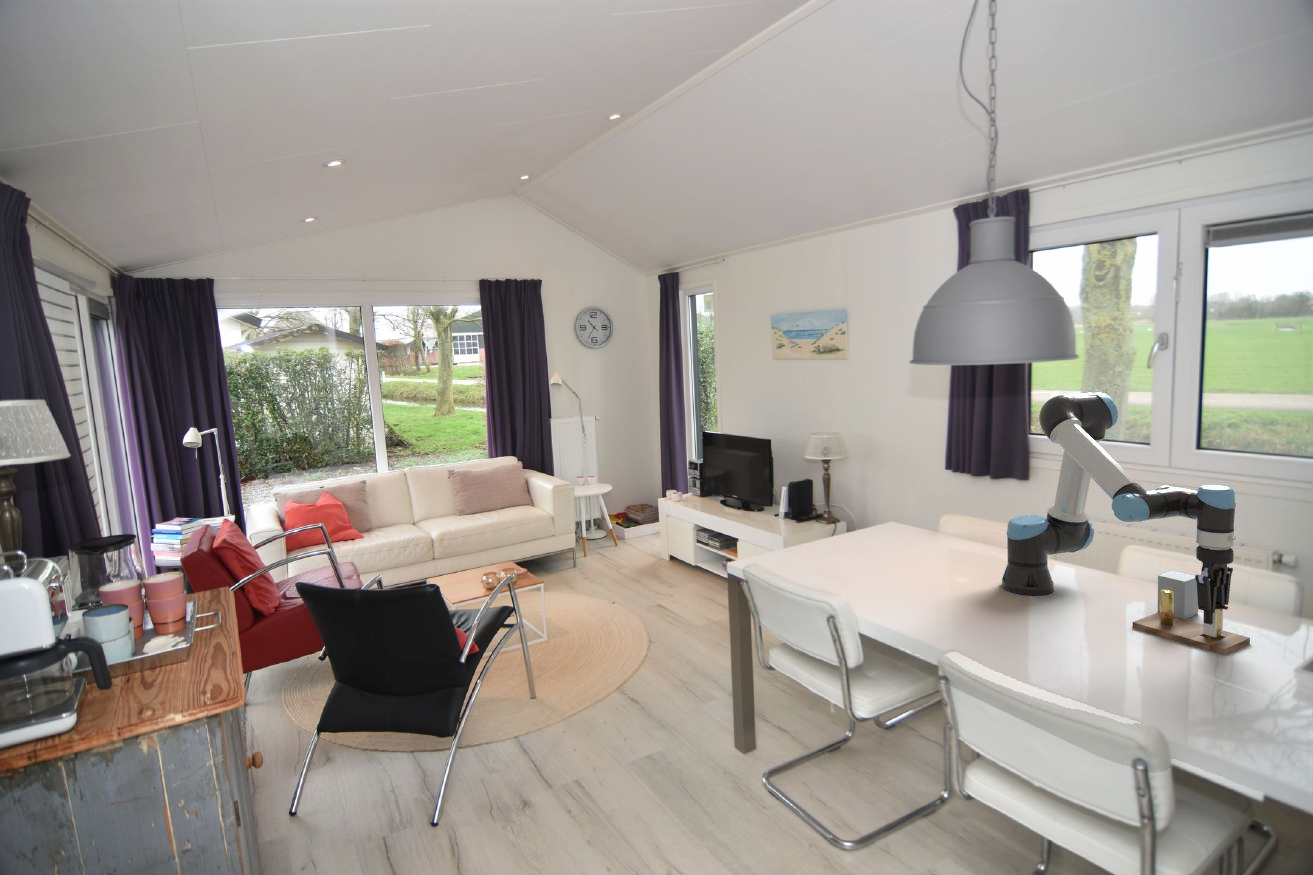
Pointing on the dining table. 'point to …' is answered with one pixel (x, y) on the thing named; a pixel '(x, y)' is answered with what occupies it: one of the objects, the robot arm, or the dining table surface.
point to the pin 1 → (1166, 607)
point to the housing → (1180, 592)
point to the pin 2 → (1217, 625)
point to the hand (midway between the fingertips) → (1212, 633)
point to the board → (1191, 634)
